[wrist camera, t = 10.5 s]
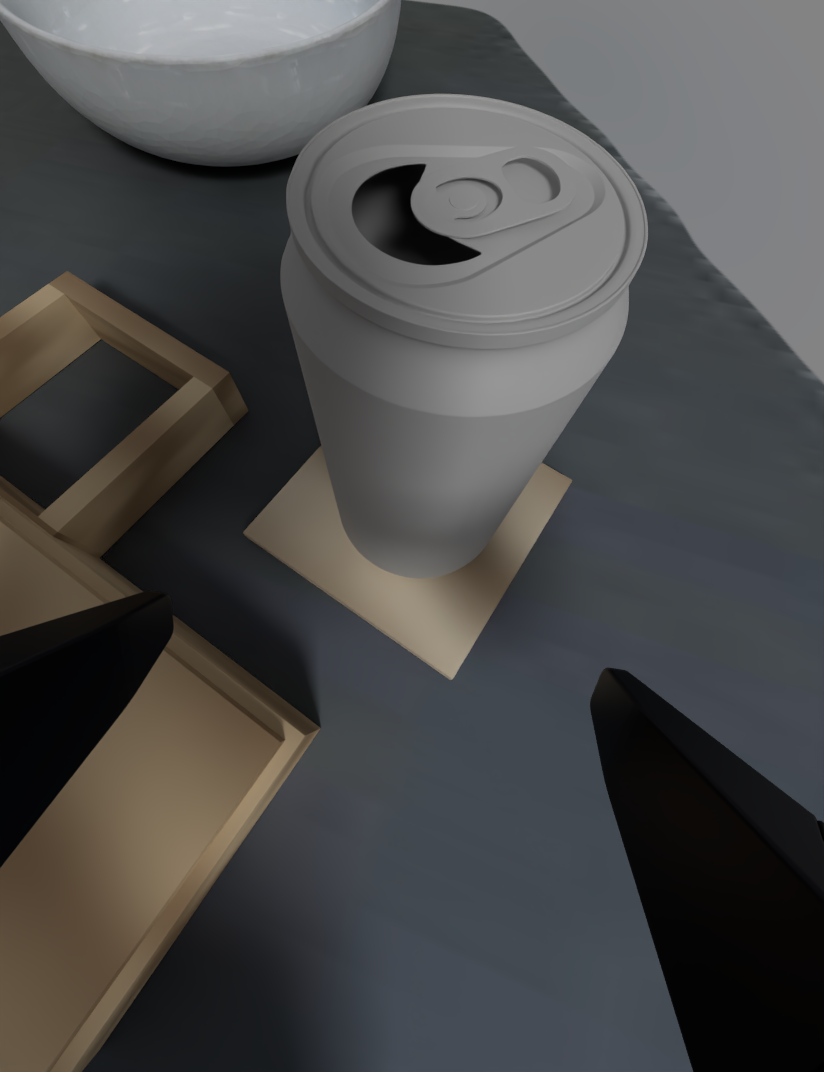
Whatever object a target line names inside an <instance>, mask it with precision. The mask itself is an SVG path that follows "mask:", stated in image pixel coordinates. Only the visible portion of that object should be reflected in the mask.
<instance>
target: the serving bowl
mask: <svg viewBox="0 0 824 1072" xmlns="http://www.w3.org/2000/svg"><path fill="white" fill-rule="evenodd" d="M400 6H401V0H0V20H1V22H2V23H3V25H4V26H5V28H6V29H7V31H8V32H9V34H10V35H11V37H12V38H13V39H14V41H15V42H16V44H17V45H18V46H19V48H20V49H21V50H22V52H23V53H24V54H25V56H26V57H27V58H28V60H29V61H30V62H31V63H32V65H33V66H34V67H35V68H36V69H37V71H38V72H39V73H40V74H41V75H42V77H43V78H44V79H45V80H46V81H47V82H48V83H49V84H50V85H51V87H52V88H53V89H54V90H55V91H56V92H57V93H58V94H59V95H60V96H61V97H62V98H63V99H65V100H66V101H67V102H68V103H69V104H70V105H71V106H72V107H73V108H74V109H76V110H77V111H78V112H79V113H81V114H82V115H83V116H84V117H86V118H87V119H88V120H90V121H91V122H92V123H94V124H95V125H96V126H98V127H99V128H101V129H102V130H104V131H106V132H107V133H109V134H111V135H112V136H114V137H116V138H117V139H119V140H121V141H123V142H125V143H127V144H129V145H131V146H133V147H135V148H138V149H140V150H142V151H145V152H148V153H150V154H153V155H156V156H159V157H162V158H166V159H170V160H174V161H178V162H183V163H189V164H195V165H205V166H222V167H229V166H247V165H256V164H263V163H268V162H273V161H278V160H282V159H285V158H289V157H292V156H295V155H298V154H300V152H301V151H302V149H303V148H304V147H305V146H306V144H307V143H308V142H309V141H310V140H311V139H312V138H313V137H314V136H315V135H316V134H317V133H318V132H320V131H321V130H322V129H323V128H325V127H326V126H328V125H329V124H330V123H332V122H333V121H335V120H336V119H338V118H340V117H342V116H344V115H346V114H348V113H350V112H352V111H354V110H357V109H359V108H362V107H365V106H366V105H367V104H368V102H369V101H370V100H371V98H372V97H373V95H374V93H375V92H376V90H377V88H378V86H379V84H380V82H381V80H382V78H383V76H384V73H385V71H386V68H387V66H388V63H389V60H390V56H391V53H392V50H393V46H394V42H395V38H396V33H397V27H398V21H399V14H400Z"/></svg>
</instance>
